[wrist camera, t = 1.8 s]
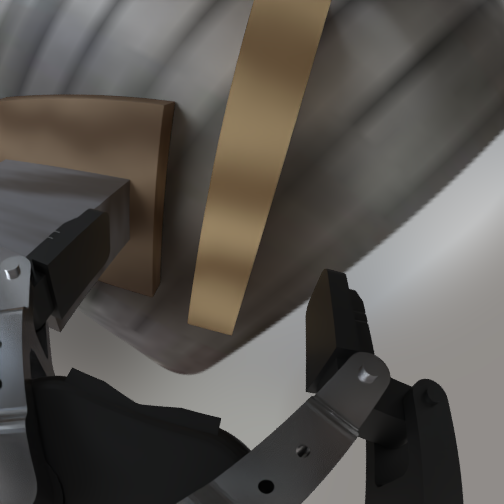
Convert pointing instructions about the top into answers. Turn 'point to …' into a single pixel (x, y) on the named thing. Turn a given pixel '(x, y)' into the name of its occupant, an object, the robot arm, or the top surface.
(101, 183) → the ridge stand
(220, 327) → the oak bar
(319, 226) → the top surface
